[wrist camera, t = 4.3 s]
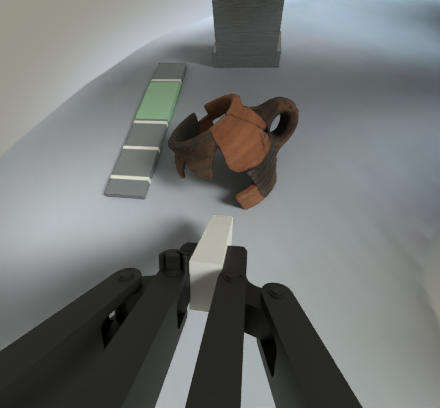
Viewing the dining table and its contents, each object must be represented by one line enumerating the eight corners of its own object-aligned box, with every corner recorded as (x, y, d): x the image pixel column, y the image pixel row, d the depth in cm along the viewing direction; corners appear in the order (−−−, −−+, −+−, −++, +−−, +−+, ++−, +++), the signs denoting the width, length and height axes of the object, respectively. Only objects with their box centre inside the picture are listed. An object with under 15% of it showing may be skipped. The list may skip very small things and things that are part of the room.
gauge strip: (145, 199, 22) (142, 195, 22) (107, 196, 23) (103, 192, 22) (187, 67, 32) (186, 62, 32) (160, 67, 33) (158, 62, 32)
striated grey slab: (278, 67, 31) (290, -10, 24) (214, 67, 32) (207, -6, 25) (278, 46, 33) (289, -28, 26) (218, 47, 34) (213, -24, 27)
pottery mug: (224, 236, 20) (166, 170, 15) (198, 189, 28) (154, 135, 23) (334, 157, 20) (310, 63, 15) (277, 131, 27) (249, 63, 22)
